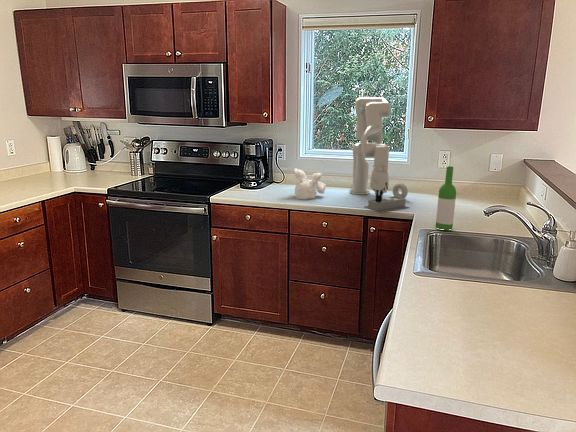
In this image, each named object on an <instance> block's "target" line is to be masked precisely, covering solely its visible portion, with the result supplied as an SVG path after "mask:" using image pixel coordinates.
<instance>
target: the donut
mask: <svg viewBox="0 0 576 432" xmlns="http://www.w3.org/2000/svg"><path fill="white" fill-rule="evenodd" d="M399 189H400V190H401V193H400V192H399ZM408 193H409V191H408V188H407V186H406V185H405V184H404V183H401V182H398V183H396V184H395V185H393V187H392V194H393V196H397V197H400V198H404V199H406V198H407V196H408Z"/></svg>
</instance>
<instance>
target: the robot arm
mask: <svg viewBox="0 0 576 432" xmlns="http://www.w3.org/2000/svg"><path fill="white" fill-rule="evenodd" d="M354 107H355V113H356V118H357V120H356V131H355V133H356V139H357V140H359V141H360V142H356V143H355V144H353V146H352V157H353V159H352V160H353V161H352V162H353V165H352V166H353V167H352V183H351V184H350V185H349V186H348V187H349V188H351V189H350V190H349V193H350V194H352V195H369V194H370V190H369V189H368V185H369V188H371V190H372V191H374V194H375V199H376V200H375V202H382V198H383V196H384V194H386V193H388V190H389V183H390V182H389V181H390V180H389V170H388V168H389V155H390V147H389V146H388V145H386V144H385V143H383V136H384V135H383V119H382V118H389V117H390V116H391V114H392V113H391V112H392V107H391V104H390V103H389V101H388V100H387V99H386V98H385V97H371V96H362V97H358V98H357V99H355V104H354ZM368 141H369V142H368ZM371 141H372V142H371ZM366 159H373V166H372V167H373V170H372V171H371V176H370V182H368V181H369V163H368V161H367V160H366Z"/></svg>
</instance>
